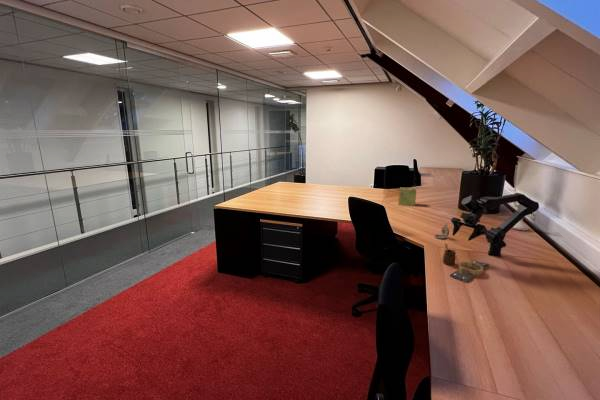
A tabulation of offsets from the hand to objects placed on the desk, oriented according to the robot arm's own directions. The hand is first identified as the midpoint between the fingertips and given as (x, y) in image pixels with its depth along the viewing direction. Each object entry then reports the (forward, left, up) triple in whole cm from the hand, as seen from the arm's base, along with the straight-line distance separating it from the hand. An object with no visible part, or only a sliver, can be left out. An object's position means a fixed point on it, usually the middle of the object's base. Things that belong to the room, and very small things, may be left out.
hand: (460, 237), depth 165 cm
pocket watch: (-34, -12, -14) cm, 38 cm away
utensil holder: (+7, -4, -14) cm, 16 cm away
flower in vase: (-82, +34, -14) cm, 89 cm away
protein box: (-117, -53, -14) cm, 129 cm away
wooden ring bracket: (+12, +7, -13) cm, 19 cm away
